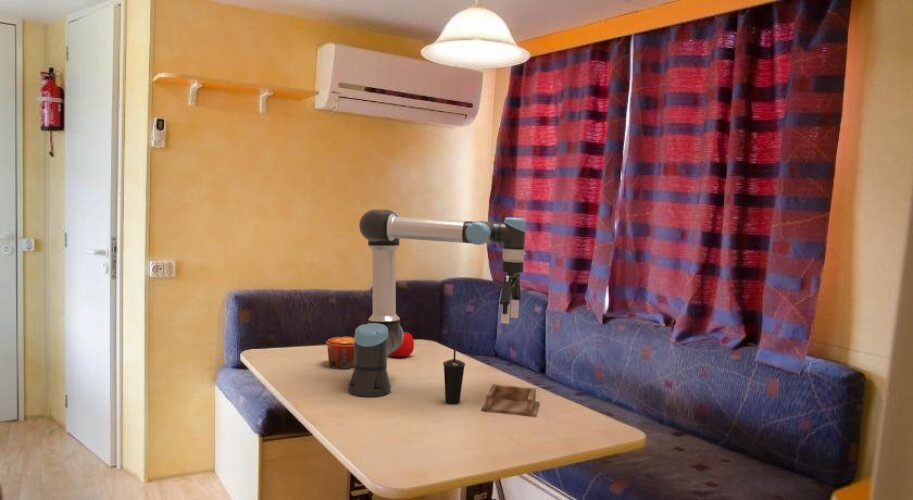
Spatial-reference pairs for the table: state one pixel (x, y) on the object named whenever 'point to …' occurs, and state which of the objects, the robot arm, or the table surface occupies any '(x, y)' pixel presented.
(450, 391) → the drinking cup
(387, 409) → the table surface
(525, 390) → the u rest
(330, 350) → the food container
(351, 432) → the table surface
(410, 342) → the tomato
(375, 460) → the table surface
